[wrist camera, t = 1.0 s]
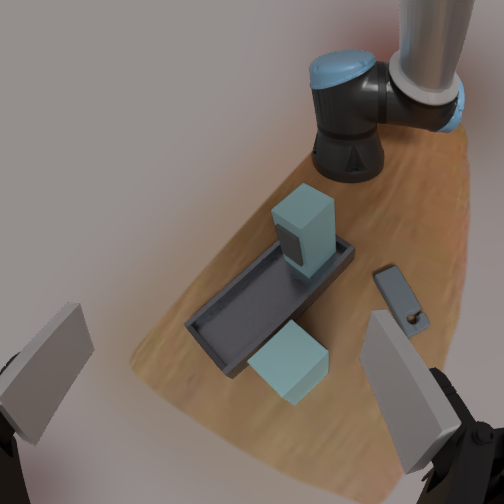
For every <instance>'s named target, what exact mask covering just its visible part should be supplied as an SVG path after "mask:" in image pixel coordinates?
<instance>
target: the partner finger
mask: <svg viewBox="0 0 504 504" xmlns="http://www.w3.org/2000/svg"><path fill="white" fill-rule="evenodd" d="M271 213H272V216H273V220H274V223H275V228H276V232H277V235H278V239H279V242H280V246H281V249H282V253H283V255H284V259H285V260H286V261H287V262H288V263H290V264H291V265H292V266H294V267H295V268H296V269H298V270H299V271H300V272H301V273H303V274H304V275H305V276H307V277H308V278H310V277H311V276H312V275H313V274H314V273H315V272H316V271H317V270H318V269H319V268H320V267H321V266H322V265H323V264H324V263H325V262H326V261H327V260H328V259H329V258H330V257H331V256H332V255H333V254H334V253H335V252H336V241H335V210H334V199H333V198H331V197H329V196H327V195H325V194H324V193H322V192H320V191H318V190H316V189H314V188H312V187H310V186H308V185H307V184H305V183H303V184H301V185H300V186H299V187H298V188H297V189H295V190H294V191H293V192H292V193H291V194H289V195H288V196H287V197H286V198H285V199H283V200H282V201H281V202H280V203H279V204H277V205H276V206H275V207H274V208H273V209H271Z"/></svg>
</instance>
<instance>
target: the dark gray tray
mask: <svg viewBox="0 0 504 504" xmlns="http://www.w3.org/2000/svg"><path fill="white" fill-rule="evenodd" d="M335 241H336V252H335V253H334V254H333V255H332V256H331V257H330V258H329V259H328V260H327V261H326V262H325V263H324V264H323V265H322V266H321V267H320V268H319V269H318V270H317V271H316V272H315V273H314V274H313V275H312V276H311V277H310V278H308V277H307V276H305V275H304V274H303V273H301V272H300V271H299V270H298V269H296V268H295V267H294V266H292V265H291V264H290V263H288V262H287V261H286V260H285V259H284V255H283V253H282V249H281V246H280V242H279V240H278V241H276V242H275V243H274V244H273V245H272V246H271V247H270V248H269V249H267V250H266V251H265V252H264V253H263V254H262V255H261V256H260V257H259V258H257V259H256V260H255V261H254V262H253V263H252V264H251V265H250V266H249V267H247V268H246V269H245V270H244V271H243V272H242V273H241V274H240V275H238V276H237V277H236V278H235V279H234V280H233V281H232V282H231V283H229V284H228V285H227V286H226V287H225V288H224V289H223V290H222V291H220V292H219V293H218V294H217V295H216V296H215V297H214V298H213V299H211V300H210V301H209V302H208V303H207V304H206V305H205V306H204V307H202V308H201V309H200V310H199V311H198V312H197V313H196V314H195V315H193V316H192V317H191V318H190V319H189V320H188V321H187V322H185V323H184V326H185V327H186V328H187V329H188V331H189V332H190V333H191V334H192V336H193V337H194V338H195V340H196V341H197V342H198V343H199V344H200V346H201V347H202V348H203V349H204V351H205V352H206V353H207V354H208V355H209V357H210V358H211V359H212V360H213V361H214V363H215V364H216V365H217V366H218V367H219V368H220V370H221V371H222V372H223V373H224V374H225V375H226V376H228V377H229V378H231V379H233V378H234V377H236V376H237V375H238V374H239V373H240V372H241V371H242V370H244V369H245V368H246V367H247V366H248V365H249V363H248V362H247V361H248V360H249V359H250V358H251V357H252V356H253V355H254V354H255V353H257V352H258V351H259V350H260V349H261V348H262V347H263V346H264V345H265V344H266V343H267V342H268V341H269V340H270V339H272V338H273V337H274V336H275V335H276V334H277V333H278V332H279V331H280V330H281V329H282V328H283V327H284V326H285V325H286V324H287V323H288V322H289V321H290V320H291V319H292V320H293V321H294V322H295V321H296V320H297V319H298V318H299V317H300V316H301V315H302V314H303V313H304V312H305V311H306V310H307V309H308V308H309V307H310V306H311V305H312V304H313V303H314V302H315V300H316V299H317V298H318V297H319V296H320V295H321V294H322V293H323V292H324V291H325V290H326V289H327V288H328V287H329V286H330V285H331V284H332V283H333V282H334V281H335V279H336V278H337V277H338V276H339V275H340V274H341V273H342V272H343V271H344V270H345V269H346V268H347V266H348V265H349V264H350V263H351V262H352V261H353V260H354V255H355V247H353V246H352V245H350V244H349V243H347V242H346V241H344V240H343V239H341V238H339V237H338V236H336V235H335Z"/></svg>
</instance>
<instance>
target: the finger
mask: <svg viewBox="0 0 504 504" xmlns="http://www.w3.org/2000/svg"><path fill="white" fill-rule="evenodd" d="M247 362H248V363H249V364H250V365H251V366H252V367H253V368H254V369H255V370H256V372H257V373H258V374H259V375H260V376H261V377H262V378H263V379H264V380H265V381H266V382H267V383H268V384H269V385H270V386H271V387H272V388H273V389H274V390H275V391H276V392H277V393H278V394H279V395H280V396H281V397H282V398H284V399H285V400H287V401H289V402H290V403H292V404H293V405H296V404H297V403H298V402H299V401H300V400H301V399H302V398H303V397H305V396H306V395H307V394H308V393H309V392H310V391H311V390H312V389H313V388H314V387H315V386H316V385H317V384H318V383H319V382H320V381H321V380H322V379H323V378H324V377H325V376H326V375H327V374H328V363H329V351H327V348H326V347H324V346H323V345H322V344H321V343H320V342H319V341H317V340H316V339H315V338H314V337H313V336H312V335H310V334H309V333H308V332H307V331H306V330H305V329H303V328H302V327H300V326H298V325H297V324H296V323H295V322H294V321H293V320H292V319H291V320H290V321H289V322H288V323H287V324H286V325H285V326H284V327H283V328H282V329H281V330H280V331H279V332H278V333H277V334H276V335H275V336H274V337H273V338H272V339H270V340H269V341H268V342H267V343H266V344H265V345H264V346H263V347H262V348H261V349H260V350H259V351H258V352H257V353H255V354H254V355H253V356H252V357H251V358H250V359H249V360H248V361H247Z"/></svg>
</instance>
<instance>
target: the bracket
mask: <svg viewBox="0 0 504 504" xmlns="http://www.w3.org/2000/svg"><path fill="white" fill-rule="evenodd" d="M374 282H375V283H376V285H377V287H378V289H379V291H380V292H381V294H382V296H383V298H384V300H385V301H386V303H387V305H388V307H389V309H390V311H391V313H392V314H393V316H394V318H395V320H396V322H397V324H398V325H399V327H400V328H401V330H402V331H403V332H404V334H405V335H406V337H407V338H408V339H409V338H411V337H412V336H414V335H416V334H418V333H420V332H421V331H423V330H425V329H427V328H428V326H429V325H430V322H429V320H428V318H427V316H426V314H425V313H424V312H423V313H421V314H419V315H418V316H416V323H415V324H410V323H409V322H408V321H407V317H408V316H412V315H414V314H415V315H416V313H418V312H419V311H420V309H421V306H420V304H419V302H418V300H417V299H416V297H415V295H414V293H413V292H412V290H411V288H410V287H409V285H408V283H407V282H406V280H405V278H404V277H403V275H402V273H401V272H400V270H399V269H398V267H397V266H393V267H391V268H389V269H387V270H384V271H382V272H380V273H378V274H376V275H375V278H374Z"/></svg>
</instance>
